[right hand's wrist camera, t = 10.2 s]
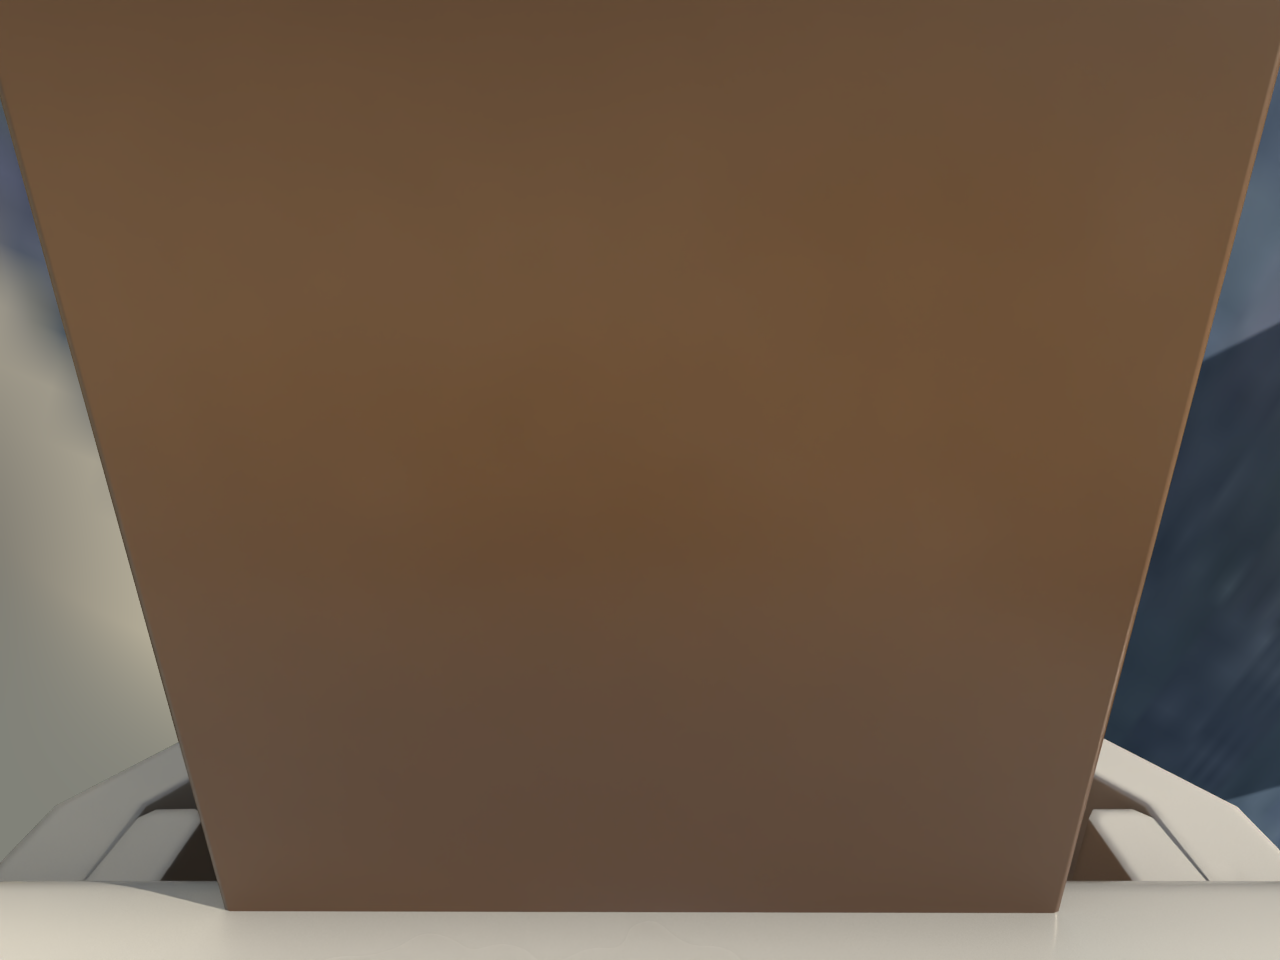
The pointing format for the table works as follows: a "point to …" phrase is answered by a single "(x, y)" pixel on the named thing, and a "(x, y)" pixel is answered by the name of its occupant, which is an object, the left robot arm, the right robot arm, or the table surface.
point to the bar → (638, 422)
